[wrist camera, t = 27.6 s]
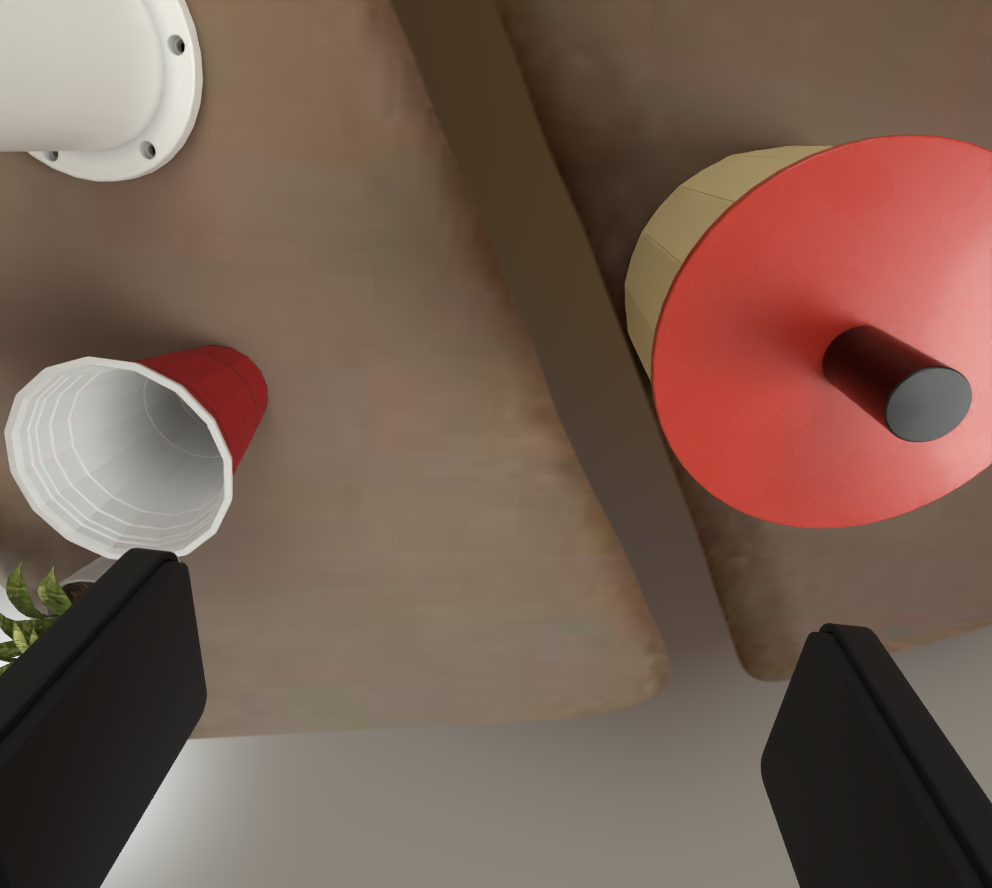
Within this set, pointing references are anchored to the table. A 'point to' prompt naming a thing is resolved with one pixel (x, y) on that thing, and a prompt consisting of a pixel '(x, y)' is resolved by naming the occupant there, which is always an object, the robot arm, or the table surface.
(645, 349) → the tin
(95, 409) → the plastic cup
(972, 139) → the table surface
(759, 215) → the lid
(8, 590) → the house plant
